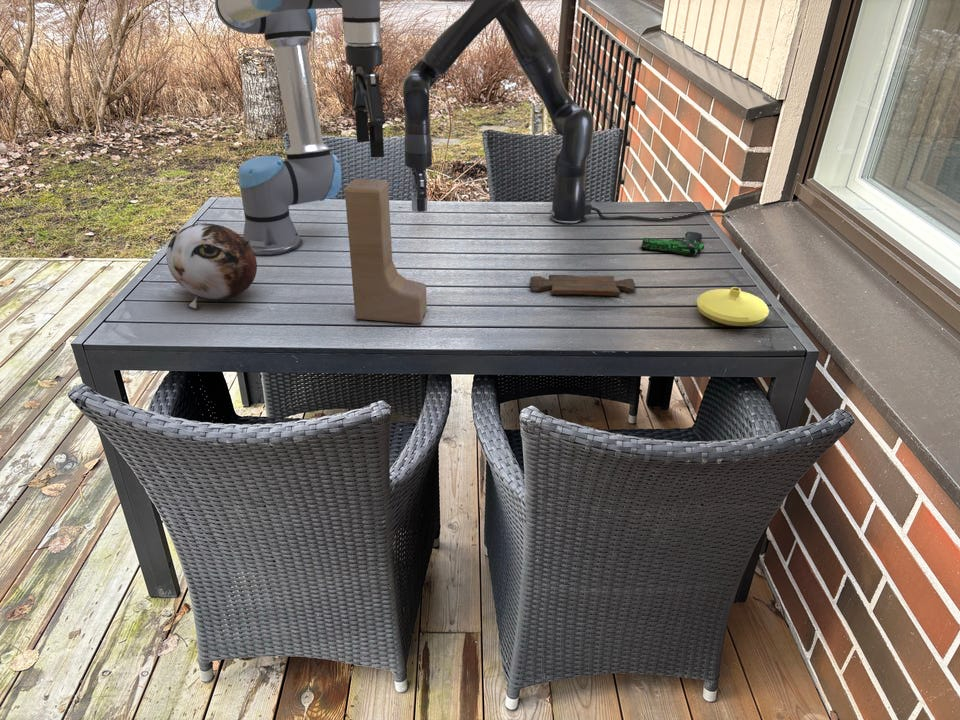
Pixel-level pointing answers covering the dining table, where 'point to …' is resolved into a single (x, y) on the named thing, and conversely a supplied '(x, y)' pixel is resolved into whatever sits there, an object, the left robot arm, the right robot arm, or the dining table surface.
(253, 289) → the dining table surface
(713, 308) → the yellow lid
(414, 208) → the can
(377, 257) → the decorative block
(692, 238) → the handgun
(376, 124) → the left robot arm
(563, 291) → the wooden paddle board
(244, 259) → the plush toy
